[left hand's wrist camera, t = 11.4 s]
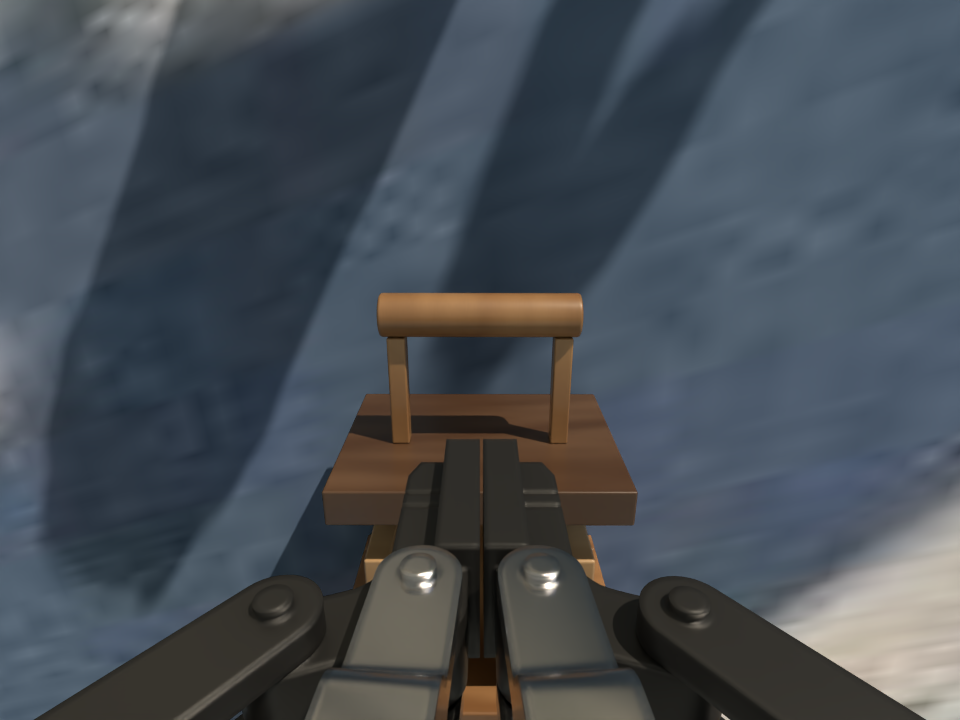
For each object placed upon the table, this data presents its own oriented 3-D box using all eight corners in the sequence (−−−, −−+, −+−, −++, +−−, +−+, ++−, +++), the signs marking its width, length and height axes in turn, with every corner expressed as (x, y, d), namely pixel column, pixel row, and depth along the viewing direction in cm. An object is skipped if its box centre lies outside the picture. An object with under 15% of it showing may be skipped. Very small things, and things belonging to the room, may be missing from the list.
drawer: (356, 268, 22) (302, 323, 15) (603, 268, 22) (657, 323, 15) (391, 746, 31) (367, 913, 24) (566, 747, 31) (590, 913, 24)
